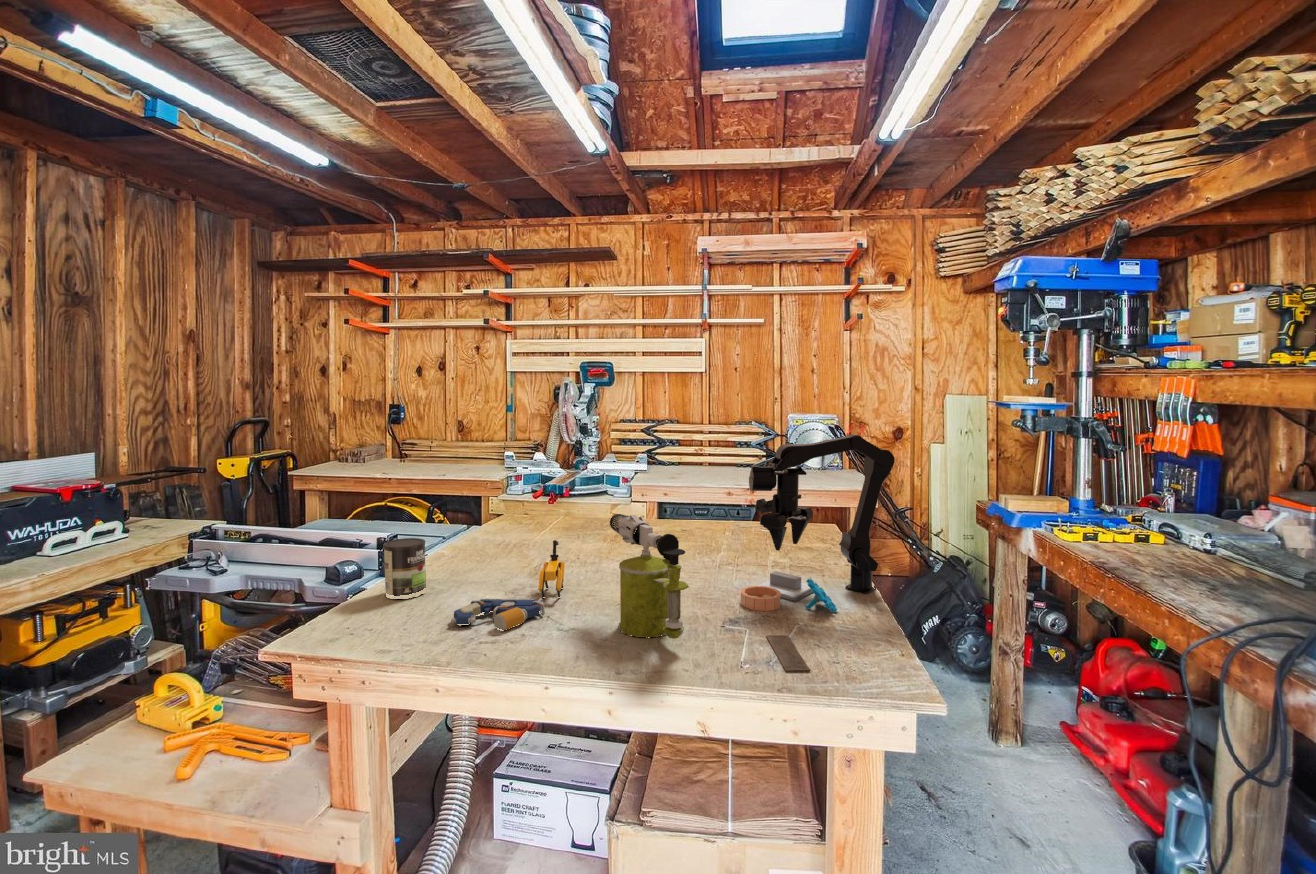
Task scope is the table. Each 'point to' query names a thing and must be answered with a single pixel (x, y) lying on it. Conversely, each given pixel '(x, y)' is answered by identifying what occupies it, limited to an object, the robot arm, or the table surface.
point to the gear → (820, 596)
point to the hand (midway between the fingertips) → (786, 547)
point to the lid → (786, 584)
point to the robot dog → (552, 572)
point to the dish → (760, 598)
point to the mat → (798, 596)
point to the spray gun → (499, 611)
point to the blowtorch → (649, 581)
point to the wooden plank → (787, 653)
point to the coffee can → (404, 566)
